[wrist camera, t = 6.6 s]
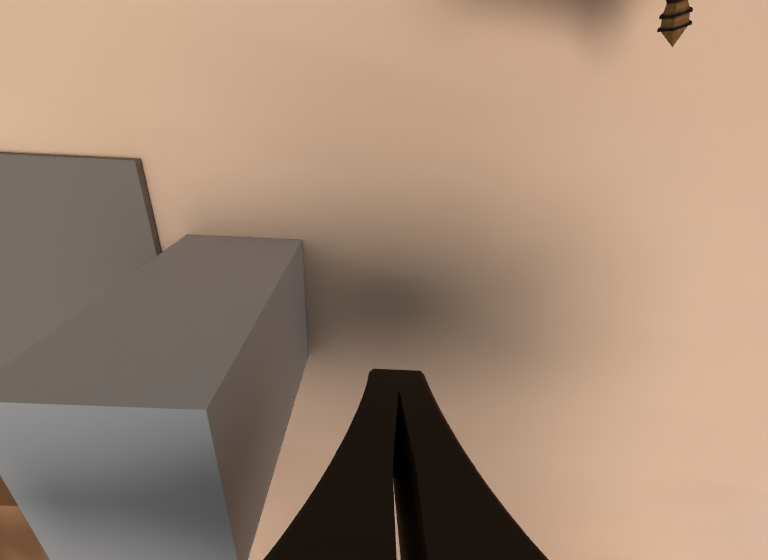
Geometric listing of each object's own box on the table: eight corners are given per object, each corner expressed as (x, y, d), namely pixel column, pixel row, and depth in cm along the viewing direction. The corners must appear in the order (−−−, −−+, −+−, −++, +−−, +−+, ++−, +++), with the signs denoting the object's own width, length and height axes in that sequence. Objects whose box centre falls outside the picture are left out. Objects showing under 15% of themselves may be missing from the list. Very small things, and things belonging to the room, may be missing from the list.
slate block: (308, 355, 16) (242, 579, 8) (209, 351, 16) (57, 574, 8) (302, 239, 13) (206, 410, 6) (186, 234, 13) (-44, 400, 6)
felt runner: (220, 514, 20) (218, 520, 20) (66, 509, 20) (61, 515, 20) (140, 159, 12) (134, 160, 12) (-117, 146, 12) (-129, 147, 12)
